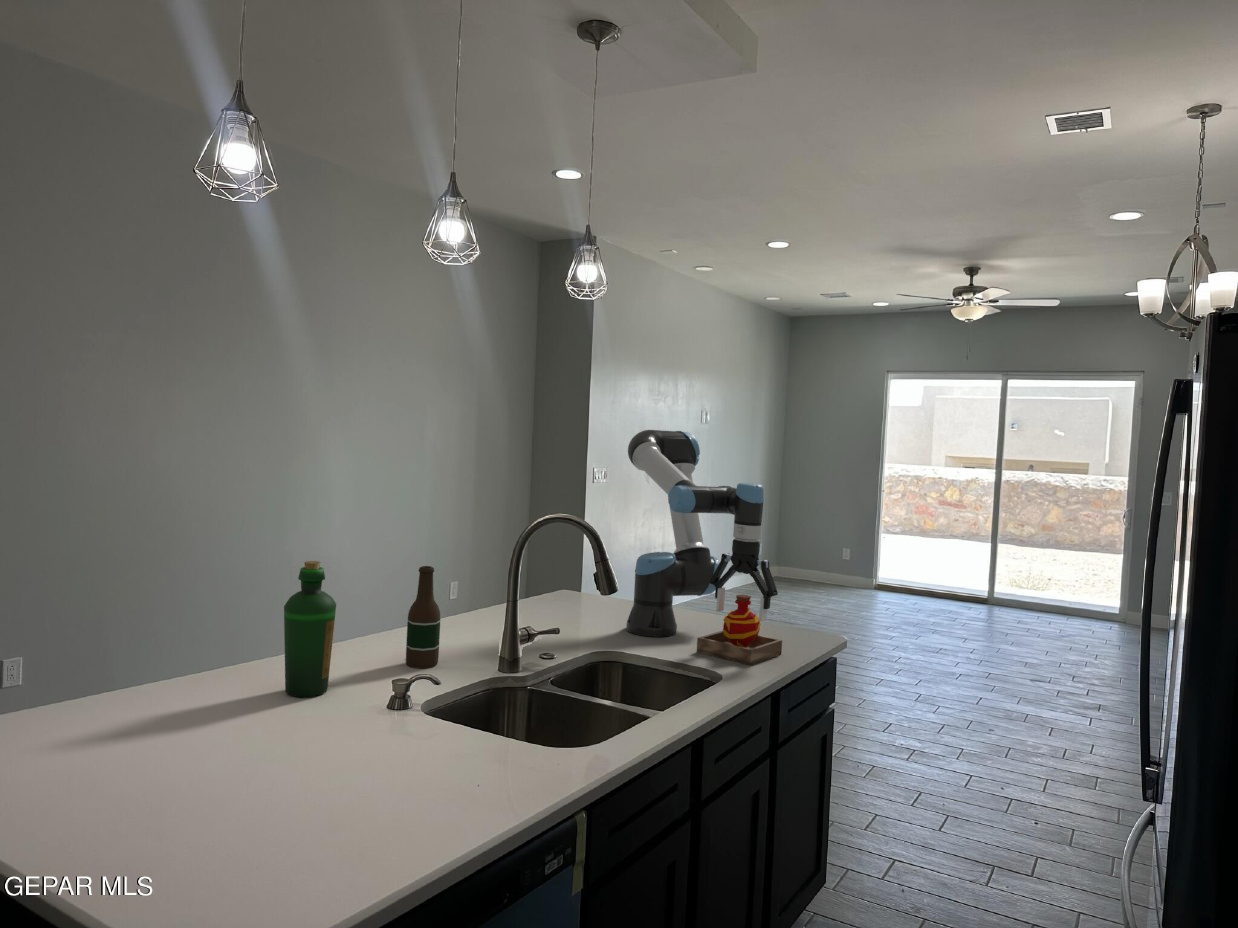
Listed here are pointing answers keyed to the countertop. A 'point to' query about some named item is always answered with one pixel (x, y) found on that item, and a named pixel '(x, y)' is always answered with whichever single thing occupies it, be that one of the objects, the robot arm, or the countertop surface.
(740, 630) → the potion bottle
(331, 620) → the bottle
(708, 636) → the walnut tray
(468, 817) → the countertop surface
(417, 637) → the beer bottle
